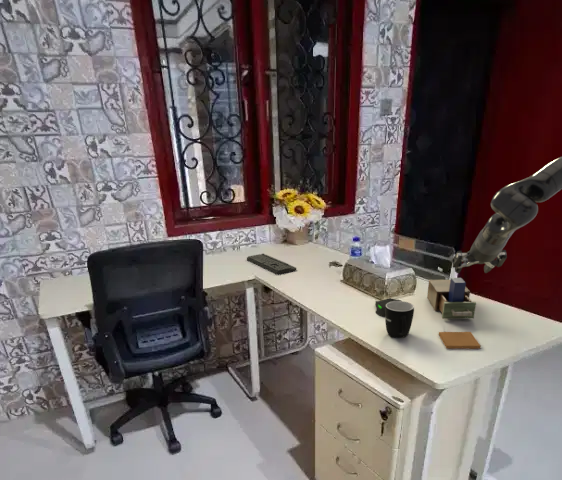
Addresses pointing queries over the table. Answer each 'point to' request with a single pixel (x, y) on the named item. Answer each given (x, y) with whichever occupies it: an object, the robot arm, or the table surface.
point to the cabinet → (439, 291)
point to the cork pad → (459, 340)
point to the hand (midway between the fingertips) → (471, 270)
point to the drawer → (456, 307)
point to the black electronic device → (383, 306)
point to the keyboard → (271, 264)
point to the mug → (398, 318)
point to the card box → (456, 290)
